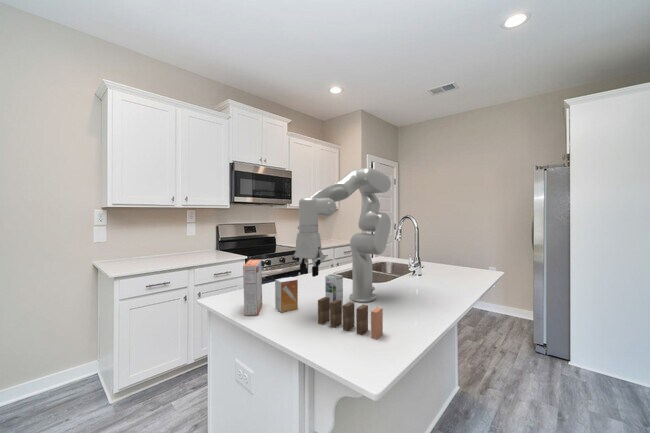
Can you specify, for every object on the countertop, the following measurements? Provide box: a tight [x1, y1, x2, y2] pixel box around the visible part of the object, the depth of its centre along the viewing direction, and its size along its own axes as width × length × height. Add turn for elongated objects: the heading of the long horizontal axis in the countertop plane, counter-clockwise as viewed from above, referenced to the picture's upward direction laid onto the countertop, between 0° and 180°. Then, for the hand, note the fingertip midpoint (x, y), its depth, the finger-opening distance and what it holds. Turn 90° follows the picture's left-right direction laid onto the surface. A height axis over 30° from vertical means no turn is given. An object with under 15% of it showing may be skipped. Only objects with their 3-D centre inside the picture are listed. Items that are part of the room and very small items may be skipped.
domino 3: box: [342, 301, 356, 333], centre depth 104 cm, size 2×5×9 cm, turn 145°
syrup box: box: [324, 273, 344, 309], centre depth 126 cm, size 6×6×14 cm
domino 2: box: [329, 299, 343, 329], centre depth 108 cm, size 2×5×9 cm, turn 145°
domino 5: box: [370, 306, 384, 340], centre depth 98 cm, size 2×5×9 cm, turn 145°
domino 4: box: [355, 304, 369, 336], centre depth 101 cm, size 2×5×9 cm, turn 145°
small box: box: [274, 276, 299, 313], centre depth 126 cm, size 8×6×13 cm
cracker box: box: [242, 259, 263, 317], centre depth 124 cm, size 14×6×21 cm, turn 5°
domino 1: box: [317, 296, 330, 326], centre depth 111 cm, size 2×5×9 cm, turn 145°
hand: (309, 274), depth 114 cm, fingers open, 5 cm apart
